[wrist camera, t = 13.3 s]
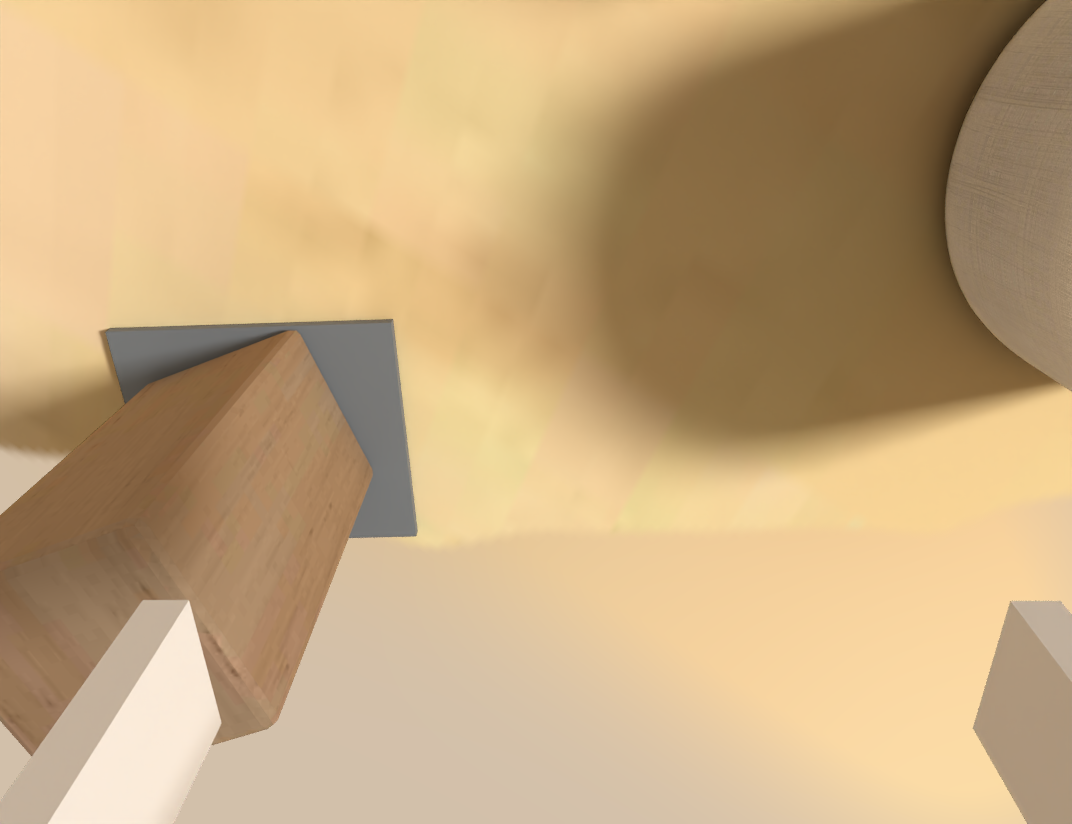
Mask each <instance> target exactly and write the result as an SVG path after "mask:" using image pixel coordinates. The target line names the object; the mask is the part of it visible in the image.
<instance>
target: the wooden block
mask: <svg viewBox="0 0 1072 824" xmlns="http://www.w3.org/2000/svg"><path fill="white" fill-rule="evenodd" d="M372 476H373V470H372V468H371V466H370V464H369V462H368V460H367V458H366V456H365V455H364V453H363V451H362V449H361V447H360V445H359V443H358V441H357V440H356V438H355V436H354V434H353V432H352V430H351V428H350V426H349V425H348V423H347V421H346V419H345V417H344V415H343V413H342V411H341V410H340V408H339V406H338V404H337V402H336V400H335V398H334V396H333V395H332V393H331V391H330V389H329V387H328V385H327V383H326V381H325V380H324V378H323V376H322V374H321V372H320V370H319V368H318V366H317V365H316V363H315V361H314V359H313V357H312V355H311V353H310V351H309V350H308V348H307V346H306V344H305V342H304V340H303V338H302V337H301V335H300V333H299V332H298V331H297V330H295V331H286V332H283V333H281V334H278V335H275V336H273V337H270V338H268V339H265V340H262V341H260V342H257V343H254V344H252V345H249V346H247V347H244V348H241V349H239V350H236V351H233V352H231V353H228V354H226V355H223V356H220V357H218V358H215V359H212V360H210V361H207V362H205V363H202V364H199V365H197V366H194V367H191V368H189V369H186V370H184V371H181V372H178V373H176V374H173V375H170V376H168V377H165V378H163V379H160V380H157V381H155V382H152V383H149V384H147V385H146V386H145V387H144V388H143V389H142V390H141V391H140V392H138V393H137V394H136V395H135V396H134V397H133V398H132V399H131V400H129V401H128V402H127V403H126V404H125V405H124V406H123V407H122V408H120V409H119V410H118V411H117V412H116V413H115V414H114V415H113V416H111V417H110V418H109V419H108V420H107V421H106V422H105V423H104V424H102V425H101V426H100V427H99V428H98V429H97V430H96V431H95V432H93V433H92V434H91V435H90V436H89V437H88V438H87V439H86V440H84V441H83V442H82V443H81V444H80V445H79V446H78V447H77V448H75V449H74V450H73V451H72V452H71V453H70V454H69V455H68V456H66V457H65V458H64V459H63V460H62V461H61V462H60V463H59V464H57V465H56V466H55V467H54V468H53V469H52V470H51V471H50V472H48V474H46V475H45V476H44V477H43V478H42V479H41V480H39V481H38V482H37V483H36V484H35V485H34V486H33V487H32V488H30V489H29V490H28V491H27V492H26V493H25V494H24V495H23V496H22V497H20V498H19V499H18V500H17V501H16V502H15V503H14V504H13V505H11V506H10V507H9V508H8V509H7V510H6V511H5V512H4V513H2V514H1V515H0V721H1V722H2V723H3V724H4V725H5V727H6V728H7V729H8V730H9V731H10V732H11V733H12V735H13V736H14V737H15V738H16V739H17V740H18V741H19V743H20V744H21V745H22V746H23V747H24V748H25V749H26V750H27V752H28V753H29V754H30V755H31V756H33V754H34V753H35V751H36V750H37V749H38V747H39V746H40V744H41V743H42V741H43V740H44V739H45V737H46V736H47V734H48V733H49V732H50V730H51V729H52V727H53V726H54V725H55V723H56V722H57V720H58V719H59V718H60V716H61V715H62V713H63V712H64V710H65V709H66V708H67V706H68V705H69V703H70V702H71V701H72V699H73V698H74V696H75V695H76V694H77V692H78V691H79V689H80V688H81V687H82V685H83V684H84V682H85V681H86V679H87V678H88V677H89V675H90V674H91V672H92V671H93V670H94V668H95V667H96V665H97V664H98V663H99V661H100V660H101V658H102V657H103V655H104V654H105V653H106V651H107V650H108V648H109V647H110V646H111V644H112V643H113V641H114V640H115V639H116V637H117V636H118V634H119V633H120V632H121V630H122V629H123V627H124V626H125V624H126V623H127V622H128V620H129V619H130V617H131V616H132V615H133V613H134V612H135V610H136V609H137V608H138V606H139V605H140V603H141V602H142V601H143V600H189V602H190V606H191V610H192V613H193V617H194V621H195V625H196V628H197V632H198V636H199V640H200V643H201V647H202V651H203V655H204V659H205V662H206V666H207V670H208V674H209V677H210V681H211V685H212V689H213V692H214V696H215V700H216V704H217V707H218V711H219V715H220V719H221V725H220V728H219V730H218V732H217V734H216V736H215V738H214V740H213V742H212V744H211V745H214V744H218V743H221V742H225V741H228V740H231V739H235V738H238V737H241V736H245V735H248V734H251V733H255V732H259V731H262V730H265V729H268V728H269V727H271V726H272V725H273V724H274V723H275V722H276V721H277V720H278V718H279V715H280V713H281V710H282V708H283V705H284V703H285V700H286V697H287V694H288V692H289V689H290V687H291V684H292V682H293V679H294V677H295V674H296V672H297V669H298V666H299V664H300V661H301V659H302V656H303V654H304V651H305V649H306V646H307V643H308V641H309V638H310V636H311V633H312V630H313V628H314V625H315V622H316V620H317V618H318V615H319V612H320V610H321V607H322V605H323V602H324V599H325V597H326V594H327V592H328V589H329V587H330V584H331V582H332V579H333V577H334V574H335V571H336V569H337V566H338V564H339V561H340V559H341V556H342V553H343V551H344V548H345V546H346V543H347V541H348V538H349V535H350V533H351V530H352V528H353V525H354V523H355V520H356V517H357V515H358V512H359V510H360V507H361V505H362V502H363V499H364V497H365V494H366V492H367V489H368V487H369V484H370V481H371V479H372Z"/></svg>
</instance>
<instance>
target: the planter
mask: <svg viewBox="0 0 1072 824" xmlns="http://www.w3.org/2000/svg"><path fill="white" fill-rule="evenodd" d="M945 231H946V240H947V247H948V252H949V257H950V261H951V264H952V268H953V271H954V274H955V276H956V279H957V282H958V284H959V286H960V288H961V291H962V293H963V295H964V297H965V298H966V300H967V302H968V304H969V305H970V307H971V308H972V310H973V311H974V313H975V314H976V315H977V316H978V318H979V319H980V320H981V321H982V322H983V324H984V325H985V326H986V327H987V328H988V329H989V330H990V331H991V333H992V334H993V335H994V336H995V337H996V338H998V339H999V340H1000V341H1001V342H1002V343H1003V344H1004V345H1005V346H1006V347H1007V348H1009V349H1010V350H1011V351H1012V352H1014V353H1015V354H1017V355H1018V356H1019V357H1021V358H1022V359H1023V360H1025V361H1026V362H1028V363H1029V364H1031V365H1032V366H1034V367H1035V368H1037V369H1038V370H1040V371H1041V372H1043V373H1044V374H1046V375H1047V376H1049V377H1050V378H1052V379H1053V380H1055V381H1056V382H1058V383H1060V384H1061V385H1063V386H1064V387H1066V388H1067V389H1069V390H1070V391H1072V0H1046V1H1045V2H1044V3H1043V4H1042V5H1041V6H1040V7H1039V8H1038V9H1037V10H1036V11H1035V12H1034V13H1033V14H1032V15H1031V16H1030V17H1029V19H1028V20H1027V21H1026V22H1025V23H1024V24H1023V25H1022V26H1021V28H1020V29H1019V30H1018V31H1017V32H1016V34H1015V35H1014V36H1013V37H1012V39H1011V40H1010V41H1009V43H1008V44H1007V45H1006V47H1005V48H1004V49H1003V51H1002V52H1001V54H1000V55H999V56H998V58H997V59H996V61H995V62H994V64H993V66H992V67H991V69H990V70H989V72H988V74H987V75H986V77H985V79H984V80H983V82H982V84H981V86H980V87H979V89H978V91H977V93H976V95H975V97H974V99H973V101H972V103H971V105H970V107H969V109H968V112H967V114H966V116H965V119H964V121H963V124H962V127H961V129H960V132H959V135H958V138H957V141H956V145H955V148H954V152H953V155H952V159H951V164H950V168H949V173H948V179H947V186H946V196H945Z"/></svg>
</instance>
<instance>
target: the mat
mask: <svg viewBox="0 0 1072 824" xmlns="http://www.w3.org/2000/svg"><path fill="white" fill-rule="evenodd" d="M295 330H297V331H298V332H299V333H300V335H301V337H302V338H303V340H304V342H305V344H306V346H307V348H308V350H309V351H310V353H311V355H312V357H313V359H314V361H315V363H316V365H317V366H318V368H319V370H320V372H321V374H322V376H323V378H324V380H325V381H326V383H327V385H328V387H329V389H330V391H331V393H332V395H333V396H334V398H335V400H336V402H337V404H338V406H339V408H340V410H341V411H342V413H343V415H344V417H345V419H346V421H347V423H348V425H349V426H350V428H351V430H352V432H353V434H354V436H355V438H356V440H357V441H358V443H359V445H360V447H361V449H362V451H363V453H364V455H365V456H366V458H367V460H368V462H369V464H370V466H371V468H372V470H373V476H372V479H371V481H370V484H369V487H368V489H367V492H366V494H365V497H364V499H363V502H362V505H361V507H360V510H359V512H358V515H357V517H356V520H355V523H354V525H353V528H352V530H351V533H350V535H349V538H363V537H365V538H366V537H407V536H416V535H417V522H416V514H415V505H414V496H413V488H412V479H411V471H410V462H409V453H408V445H407V436H406V427H405V419H404V410H403V402H402V393H401V384H400V376H399V367H398V359H397V350H396V341H395V333H394V324H393V319H388V320H356V321H325V322H293V323H261V324H229V325H198V326H166V327H134V328H110V329H109V330H107V331H106V332H105V333H106V336H107V340H108V344H109V347H110V351H111V355H112V358H113V362H114V366H115V369H116V373H117V377H118V380H119V384H120V387H121V391H122V395H123V398H124V402H125V404H126V403H127V402H128V401H129V400H131V399H132V398H133V397H134V396H135V395H136V394H137V393H138V392H140V391H141V390H142V389H143V388H144V387H145V386H146V385H147V384H149V383H152V382H155V381H157V380H160V379H163V378H165V377H168V376H170V375H173V374H176V373H178V372H181V371H184V370H186V369H189V368H191V367H194V366H197V365H199V364H202V363H205V362H207V361H210V360H212V359H215V358H218V357H220V356H223V355H226V354H228V353H231V352H233V351H236V350H239V349H241V348H244V347H247V346H249V345H252V344H254V343H257V342H260V341H262V340H265V339H268V338H270V337H273V336H275V335H278V334H281V333H283V332H286V331H295Z"/></svg>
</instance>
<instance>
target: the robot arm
mask: <svg viewBox="0 0 1072 824" xmlns="http://www.w3.org/2000/svg"><path fill="white" fill-rule="evenodd" d="M220 725H221V719H220V715H219V711H218V707H217V704H216V700H215V696H214V692H213V689H212V685H211V681H210V677H209V674H208V670H207V666H206V662H205V659H204V655H203V651H202V647H201V643H200V640H199V636H198V632H197V628H196V625H195V621H194V617H193V613H192V610H191V606H190V602H189V600H143V601H142V602H141V603H140V605H139V606H138V608H137V609H136V610H135V612H134V613H133V615H132V616H131V617H130V619H129V620H128V622H127V623H126V624H125V626H124V627H123V629H122V630H121V632H120V633H119V634H118V636H117V637H116V639H115V640H114V641H113V643H112V644H111V646H110V647H109V648H108V650H107V651H106V653H105V654H104V655H103V657H102V658H101V660H100V661H99V663H98V664H97V665H96V667H95V668H94V670H93V671H92V672H91V674H90V675H89V677H88V678H87V679H86V681H85V682H84V684H83V685H82V687H81V688H80V689H79V691H78V692H77V694H76V695H75V696H74V698H73V699H72V701H71V702H70V703H69V705H68V706H67V708H66V709H65V710H64V712H63V713H62V715H61V716H60V718H59V719H58V720H57V722H56V723H55V725H54V726H53V727H52V729H51V730H50V732H49V733H48V734H47V736H46V737H45V739H44V740H43V741H42V743H41V744H40V746H39V747H38V749H37V750H36V751H35V753H34V754H33V756H32V757H31V759H30V760H29V761H28V763H27V764H26V765H25V767H24V768H23V770H22V771H21V773H20V774H19V775H18V777H17V778H16V780H15V781H14V783H13V784H12V785H11V787H10V788H9V789H8V791H7V792H6V794H5V795H4V796H3V798H2V799H1V801H0V824H174V822H175V820H176V818H177V816H178V813H179V811H180V809H181V807H182V805H183V803H184V801H185V799H186V797H187V795H188V793H189V790H190V788H191V786H192V784H193V782H194V780H195V778H196V776H197V774H198V772H199V769H200V767H201V765H202V763H203V761H204V759H205V757H206V755H207V753H208V751H209V749H210V746H211V744H212V742H213V740H214V738H215V736H216V734H217V732H218V730H219V728H220ZM973 729H974V731H975V733H976V734H977V736H978V738H979V740H980V741H981V743H982V745H983V747H984V748H985V750H986V752H987V754H988V755H989V757H990V759H991V761H992V762H993V764H994V766H995V768H996V769H997V771H998V773H999V775H1000V777H1001V778H1002V780H1003V782H1004V783H1005V785H1006V787H1007V789H1008V791H1009V792H1010V794H1011V796H1012V798H1013V799H1014V801H1015V803H1016V805H1017V806H1018V808H1019V810H1020V812H1021V813H1022V815H1023V817H1024V819H1025V820H1026V822H1027V824H1072V614H1071V613H1070V612H1069V611H1068V610H1067V608H1066V607H1065V606H1064V605H1063V604H1062V602H1061V601H1010V604H1009V607H1008V611H1007V614H1006V618H1005V621H1004V625H1003V628H1002V631H1001V635H1000V638H999V641H998V645H997V648H996V652H995V655H994V658H993V662H992V665H991V668H990V672H989V675H988V679H987V682H986V685H985V689H984V692H983V696H982V699H981V703H980V706H979V709H978V713H977V716H976V720H975V723H974V726H973Z"/></svg>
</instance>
